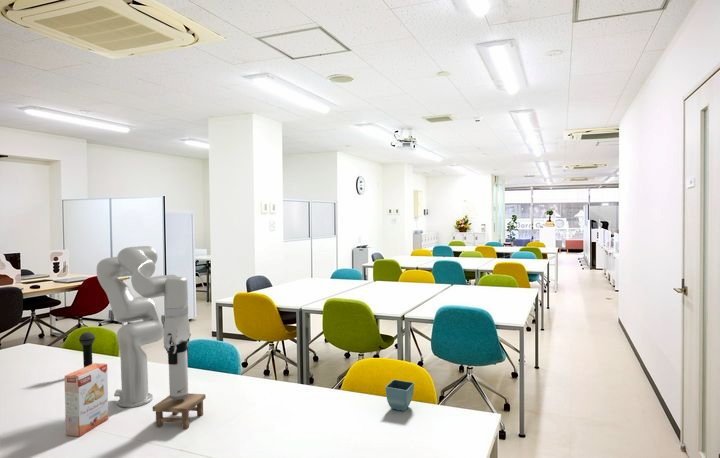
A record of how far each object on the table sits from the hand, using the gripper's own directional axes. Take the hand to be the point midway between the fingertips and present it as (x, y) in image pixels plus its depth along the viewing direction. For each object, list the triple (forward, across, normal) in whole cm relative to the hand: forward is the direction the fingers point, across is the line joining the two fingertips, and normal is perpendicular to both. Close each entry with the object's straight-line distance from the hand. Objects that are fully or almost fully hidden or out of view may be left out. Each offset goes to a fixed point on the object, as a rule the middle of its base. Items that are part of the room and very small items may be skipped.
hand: (178, 360), depth 167 cm
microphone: (+23, -41, -72) cm, 86 cm away
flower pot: (+22, -21, +78) cm, 84 cm away
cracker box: (+22, +9, -30) cm, 38 cm away
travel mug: (+13, 0, 0) cm, 13 cm away
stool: (+22, 0, 0) cm, 22 cm away
